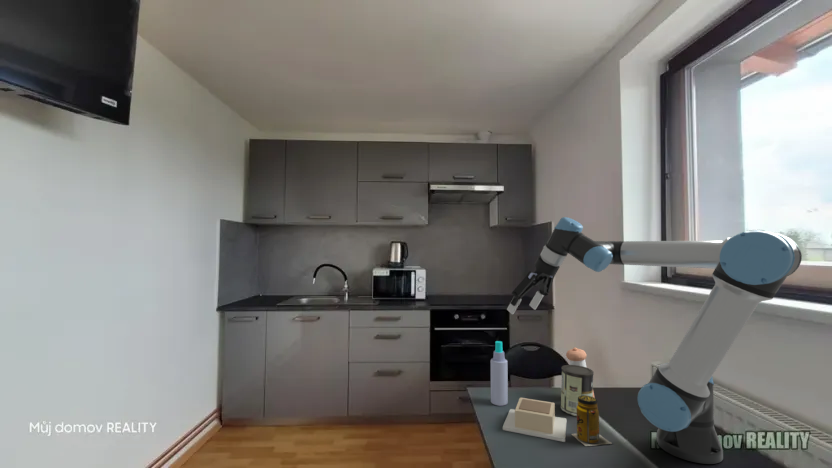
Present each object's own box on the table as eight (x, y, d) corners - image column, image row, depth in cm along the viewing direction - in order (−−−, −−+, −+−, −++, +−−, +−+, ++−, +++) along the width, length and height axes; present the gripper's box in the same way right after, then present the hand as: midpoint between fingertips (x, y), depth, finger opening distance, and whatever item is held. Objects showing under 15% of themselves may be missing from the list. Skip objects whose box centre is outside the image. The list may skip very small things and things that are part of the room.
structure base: (566, 421, 122) (566, 402, 122) (565, 442, 109) (564, 420, 110) (510, 411, 129) (510, 393, 130) (502, 429, 117) (502, 409, 117)
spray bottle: (506, 399, 140) (506, 340, 140) (508, 406, 134) (508, 344, 134) (489, 399, 140) (489, 339, 141) (491, 405, 134) (491, 343, 135)
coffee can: (587, 405, 135) (589, 366, 135) (596, 418, 125) (597, 376, 125) (557, 402, 137) (558, 363, 137) (563, 415, 126) (564, 373, 127)
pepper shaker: (570, 401, 139) (561, 350, 139) (577, 393, 144) (568, 344, 144) (591, 405, 134) (581, 351, 134) (597, 396, 139) (588, 345, 139)
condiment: (570, 434, 114) (570, 394, 114) (596, 432, 115) (595, 392, 116) (585, 447, 107) (584, 404, 107) (612, 444, 108) (611, 402, 109)
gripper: (560, 253, 137) (533, 299, 145) (519, 255, 121) (492, 306, 129) (577, 265, 132) (548, 312, 140) (537, 268, 116) (507, 321, 124)
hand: (521, 309), depth 135 cm, fingers open, 13 cm apart
